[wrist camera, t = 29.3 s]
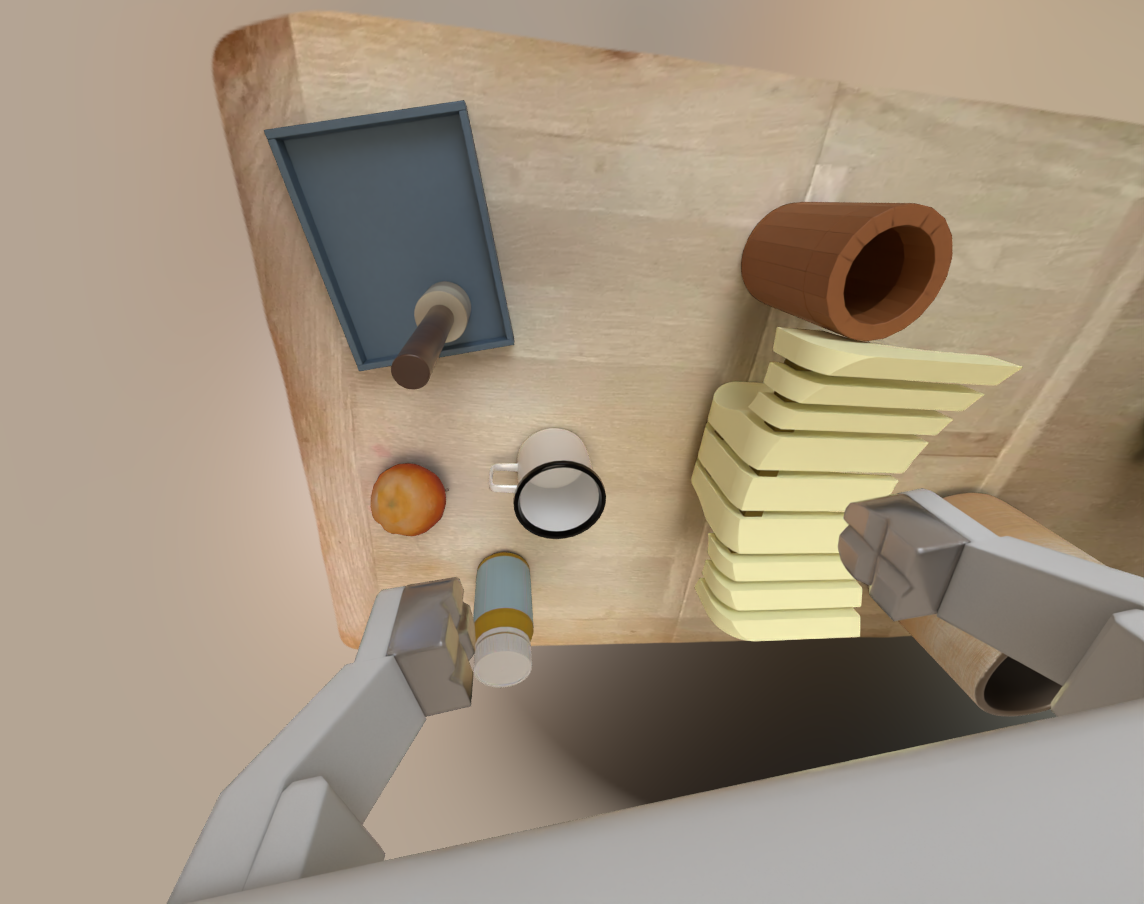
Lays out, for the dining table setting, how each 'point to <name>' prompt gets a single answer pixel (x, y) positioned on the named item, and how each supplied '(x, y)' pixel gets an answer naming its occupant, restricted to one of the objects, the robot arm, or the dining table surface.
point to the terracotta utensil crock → (849, 264)
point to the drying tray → (395, 223)
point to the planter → (970, 660)
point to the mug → (554, 485)
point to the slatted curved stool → (813, 472)
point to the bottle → (503, 620)
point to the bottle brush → (431, 333)
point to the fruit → (408, 499)
